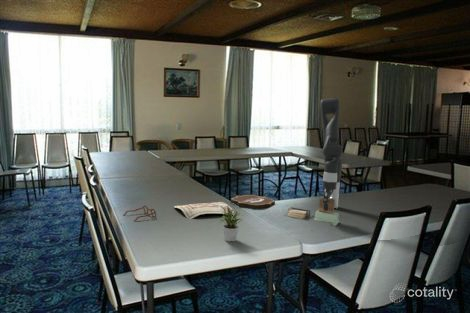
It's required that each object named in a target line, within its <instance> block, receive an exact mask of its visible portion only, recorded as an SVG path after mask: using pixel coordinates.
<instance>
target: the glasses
mask: <svg viewBox="0 0 470 313" xmlns="http://www.w3.org/2000/svg"><path fill="white" fill-rule="evenodd" d="M145 208H146V210H145ZM139 210H143V212H144V213H145V215H139V216H137V217H136V218H134V220H133V222H136V221H137V220H138V219H139V218H145V217H146V218H147V217H149V216H152V217H153V218H156V217H157V212H156V210H155V209H154V208H148V206H147V205H143V206H142V207H139V208H136V209H133V210H129V209H128V210H126V211H125V213H124V214H123V215H122V216H126V215H127V213H129V212H136V211H139ZM149 211H150V213H149ZM153 211H154V212H153Z"/></svg>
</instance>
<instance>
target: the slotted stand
mask: <svg viewBox="0 0 470 313" xmlns="http://www.w3.org/2000/svg"><path fill="white" fill-rule="evenodd" d="M314 215H315V216H314V219H313V220H315V221H322V222H326V223H327V222H328V223H329V225H330V226H334V227H336V226H337V225H338V224H339V215H340V213H337V212H334V214H329V213H322V212H319V209H317V210H316V211H315V213H314Z"/></svg>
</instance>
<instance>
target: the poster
mask: <svg viewBox="0 0 470 313" xmlns="http://www.w3.org/2000/svg"><path fill="white" fill-rule="evenodd" d="M221 206H222V207H224V209H225V211H226V213H228V207H229V209H230V211H232V210H233V212H232V213H235V214H236V211H235V209H234V208H232V207H231V206H230V205H229V204H227V203H226V202H223V201H211V202H206V203H205V202H203V203H202V202H200V203H191V204H184V205H174V206H173V207H174V208H177V209H179V210H181V211H182V213H183V214H184V215H185V217H186V218H187V219H190V220H191V219H194V218H196V217H198V216H200V215H205V214H222V213H223V214H224V212H225V211H224V209H223V208H222V207H221ZM227 206H228V207H227ZM219 209H220V210H219ZM223 211H224V212H223ZM221 212H222V213H221ZM226 213H225V214H226ZM223 214H222V215H223ZM225 214H224V215H225Z"/></svg>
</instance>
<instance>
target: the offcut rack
mask: <svg viewBox="0 0 470 313" xmlns="http://www.w3.org/2000/svg"><path fill="white" fill-rule="evenodd" d="M290 210H298V211H305V212H306V217H305V218H303V219H301V218H296V217H290V216H288V213H289V211H290ZM311 212H312V210H311V209H304V208H299V207H293V206H291V207H290V208H288V211H287V212H286V213H285V214H283V215H282V217H287V218H293V219H297V220H298V219H299V220H304V221H308V220H309V219H310V218H311V217H312V216H313V215H312V214H311Z"/></svg>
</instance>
